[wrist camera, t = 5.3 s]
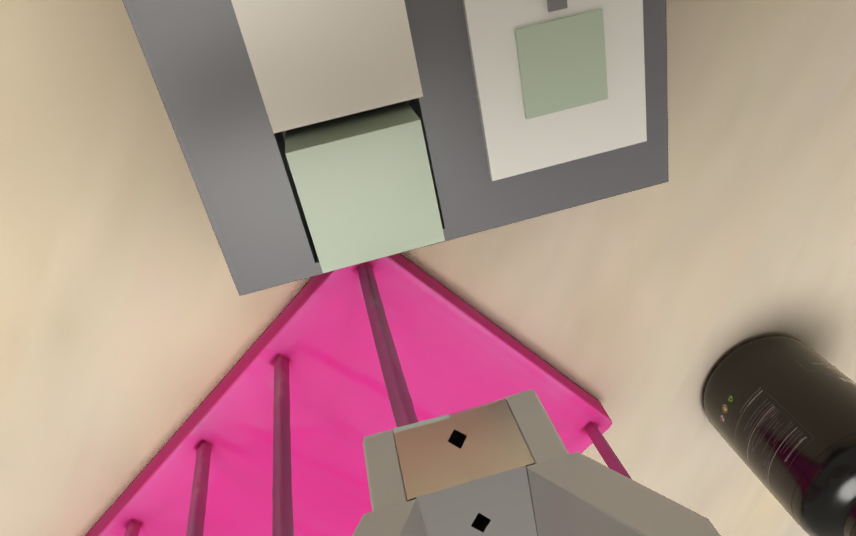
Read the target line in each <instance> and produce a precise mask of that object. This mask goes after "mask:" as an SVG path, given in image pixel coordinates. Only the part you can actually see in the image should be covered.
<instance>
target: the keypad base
mask: <svg viewBox="0 0 856 536" xmlns="http://www.w3.org/2000/svg"><path fill="white" fill-rule="evenodd" d="M404 2H405V7H406V12H407V17H408V22H409V27H410V32H411V37H412V42H413V47H414V52H415V57H416V62H417V67H418V73H419V78H420V83H421V88H422V93H423V97H420V98H415V99H411V100H407V103H408V104H409V105H410V107H411V108H412V109H413V111H414V112H415V113H416V115H417V116H418V117H419V119H420V120H421V125H422V130H423V135H424V140H425V145H426V150H427V155H428V160H429V165H430V169H431V174H432V179H433V184H434V189H435V194H436V199H437V204H438V209H439V214H440V219H441V224H442V228H443V233H444V238H445V241H447V240H451V239H455V238H458V237H462V236H466V235H470V234H473V233H477V232H481V231H485V230H488V229H492V228H496V227H500V226H503V225H507V224H511V223H515V222H518V221H522V220H526V219H530V218H533V217H537V216H541V215H545V214H548V213H552V212H556V211H560V210H563V209H567V208H571V207H575V206H578V205H582V204H586V203H590V202H593V201H597V200H601V199H605V198H608V197H612V196H616V195H620V194H623V193H627V192H631V191H635V190H638V189H642V188H646V187H650V186H653V185H657V184H661V183H665V182H668V112H667V35H666V0H404ZM123 3H124V5H125V8H126V10H127V13H128V15H129V18H130V20H131V23H132V25H133V28H134V31H135V33H136V36H137V38H138V41H139V43H140V46H141V48H142V51H143V53H144V56H145V58H146V61H147V63H148V66H149V68H150V71H151V73H152V76H153V78H154V81H155V84H156V86H157V89H158V91H159V94H160V96H161V99H162V101H163V104H164V106H165V109H166V111H167V114H168V116H169V119H170V121H171V124H172V126H173V129H174V131H175V134H176V137H177V139H178V142H179V144H180V147H181V149H182V152H183V154H184V157H185V159H186V162H187V164H188V167H189V169H190V172H191V174H192V177H193V179H194V182H195V185H196V187H197V190H198V192H199V195H200V197H201V200H202V202H203V205H204V207H205V210H206V212H207V215H208V217H209V220H210V222H211V225H212V227H213V230H214V232H215V235H216V238H217V240H218V243H219V245H220V248H221V250H222V253H223V255H224V258H225V260H226V263H227V265H228V268H229V270H230V273H231V275H232V278H233V280H234V283H235V285H236V288H237V291H238V293H239V296H241V295H245V294H248V293H252V292H256V291H260V290H263V289H267V288H271V287H275V286H278V285H282V284H286V283H290V282H293V281H297V280H301V279H305V278H308V277H312V276H316V275H320V274H323V272H322V268H321V265H320V262H319V259H318V256H317V253H316V249H315V246H314V243H313V240H312V237H311V234H310V230H309V227H308V224H307V221H306V218H305V215H304V211H303V208H302V205H301V202H300V199H299V196H298V192H297V189H296V186H295V183H294V180H293V177H292V173H291V170H290V167H289V164H288V161H287V158H286V154H285V131H282V132H278V133H273V130H272V127H271V124H270V121H269V118H268V114H267V111H266V108H265V105H264V102H263V99H262V96H261V93H260V89H259V86H258V83H257V80H256V77H255V74H254V71H253V68H252V64H251V61H250V58H249V55H248V52H247V49H246V46H245V43H244V39H243V36H242V33H241V30H240V27H239V24H238V21H237V18H236V14H235V11H234V8H233V5H232V2H231V0H123ZM403 102H404V101H403ZM399 103H400V102H399ZM395 104H396V103H395ZM391 105H392V104H391ZM387 106H388V105H387ZM383 107H384V106H383ZM379 108H380V107H379ZM375 109H376V108H375ZM371 110H372V109H371ZM330 120H331V119H330ZM326 121H327V120H326ZM322 122H323V121H322ZM318 123H319V122H318ZM314 124H315V123H314ZM310 125H311V124H310ZM306 126H307V125H306ZM302 127H303V126H302ZM298 128H299V127H298ZM294 129H295V128H294ZM290 130H291V129H290ZM286 131H287V130H286ZM442 242H443V241H442ZM439 243H440V242H439ZM435 244H436V243H435ZM431 245H432V244H431ZM427 246H428V245H427ZM424 247H425V246H424ZM420 248H421V247H420ZM416 249H417V248H416ZM412 250H413V249H412ZM409 251H410V250H409ZM405 252H406V251H405ZM401 253H402V252H401ZM397 254H398V253H397ZM394 255H395V254H394ZM390 256H391V255H390ZM386 257H387V256H386ZM382 258H383V257H382ZM379 259H380V258H379ZM375 260H376V259H375ZM371 261H372V260H371ZM367 262H368V261H367ZM364 263H365V262H364ZM360 264H361V263H360ZM356 265H357V264H356ZM352 266H353V265H352ZM349 267H350V266H349ZM345 268H346V267H345ZM341 269H342V268H341ZM337 270H338V269H337ZM334 271H335V270H334ZM330 272H331V271H330ZM326 273H327V272H326Z"/></svg>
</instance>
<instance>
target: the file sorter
mask: <svg viewBox="0 0 856 536" xmlns="http://www.w3.org/2000/svg"><path fill="white" fill-rule="evenodd" d="M530 389H532V390H533V391H535V392H536V394H537V396H538V398H539V399H540V401H541V403H542V405H543V407H544V409H545V411H546V412H547V414H548V416H549V418H550V420H551V422H552V423H553V425H554V427H555V429H556V431H557V433H558V434H559V436H560V438H561V440H562V442H563V444H564V445H565V447H566V449H567V451H568V453H569V454H571V453H575V452H579V453H582V452H583V451H584V450H585V449H586V448H588V447H589V446H590V445H591V444H592V443H593V444H594V445H595V447H596V448H597V450H598V451H599V453H600V455H601V456H602V458H603V459H604V461H605V463H606V464H607V466H608V467H609V468H610V469H612V470H614V471H616V472H618V473H620V474H622V475H624V476H626V477H628V478H630V479H631V477H630V476H629V474H628V473H627V471H626V470H625V468H624V467H623V465H622V464H621V462H620V461H619V459H618V458H617V456H616V455H615V453H614V452H613V450H612V449H611V447H610V446H609V444H608V443H607V441H606V440H605V438H604V437H603V435H602V434H603V433H604V432H605V431H606V430H607V429H608V428H609V427H610V426H611V424H612V421H611V419H610V418H609V416H608V414H607V413H606V411H605V410H604V408H603V406H602V405H601V403H600V402H599V401H597V400H596V399H595V398H593V397H592V396H591V395H589V394H588V393H587V392H585V391H584V390H583V389H581V388H580V387H578V386H577V385H576V384H574V383H573V382H572V381H570V380H569V379H568V378H566V377H565V376H564V375H562V374H561V373H560V372H558V371H557V370H556V369H554V368H553V367H552V366H550V365H549V364H548V363H546V362H545V361H543V360H542V359H541V358H539V357H538V356H537V355H535V354H534V353H533V352H531V351H530V350H529V349H527V348H526V347H525V346H523V345H522V344H521V343H519V342H518V341H517V340H515V339H514V338H513V337H511V336H510V335H508V334H507V333H506V332H504V331H503V330H502V329H500V328H499V327H498V326H496V325H495V324H494V323H492V322H491V321H490V320H488V319H487V318H486V317H484V316H483V315H482V314H480V313H479V312H478V311H476V310H475V309H474V308H472V307H471V306H470V305H468V304H467V303H466V302H464V301H463V300H462V299H460V298H459V297H458V296H456V295H455V294H454V293H452V292H451V291H450V290H448V289H447V288H446V287H444V286H443V285H442V284H440V283H439V282H437V281H436V280H435V279H433V278H432V277H431V276H429V275H428V274H427V273H425V272H424V271H423V270H421V269H420V268H419V267H417V266H416V265H415V264H413V263H412V262H411V261H409V260H408V259H406V258H405V257H404V256H402V255H401V254H400V253H398V254H395V255H391V256H387V257H383V258H380V259H376V260H372V261H368V262H365V263H361V264H357V265H353V266H350V267H346V268H342V269H338V270H335V271H331V272H327V273H323V274H320V275H316V276H314V277H313V278H312V279H311V280H310V281H309V282H308V283H307V284H306V286H305V287H304V288H303V289H302V290H301V291H300V292H299V293H298V295H297V296H296V297H295V298H294V299H293V300H292V301H291V302H290V304H289V305H288V306H287V307H286V308H285V309H284V310H283V311H282V313H281V314H280V315H279V316H278V317H277V318H276V319H275V320H274V322H273V323H272V324H271V325H270V326H269V327H268V328H267V330H266V331H265V332H264V333H263V334H262V335H261V336H260V338H259V339H258V340H257V341H256V342H255V343H254V344H253V345H252V347H251V348H250V349H249V350H248V351H247V352H246V353H245V355H244V356H243V357H242V358H241V359H240V360H239V361H238V363H237V364H236V365H235V366H234V367H233V368H232V370H231V371H230V372H229V373H228V374H227V375H226V376H225V378H224V379H223V380H222V381H221V382H220V383H219V384H218V385H217V387H216V388H215V389H214V390H213V391H212V392H211V393H210V395H209V396H208V397H207V398H206V399H205V400H204V401H203V402H202V404H201V405H200V406H199V407H198V408H197V409H196V410H195V411H194V413H193V414H192V415H191V416H190V417H189V418H188V419H187V421H186V422H185V423H184V424H183V425H182V426H181V427H180V429H179V430H178V431H177V432H176V433H175V434H174V435H173V437H172V438H171V439H170V440H169V441H168V442H167V443H166V445H165V446H164V447H163V448H162V449H161V450H160V451H159V453H158V454H157V455H156V456H155V457H154V458H153V459H152V461H151V462H150V463H149V464H148V465H147V466H146V467H145V469H144V470H143V471H142V472H141V473H140V474H139V475H138V476H137V478H136V479H135V480H134V481H133V482H132V483H131V484H130V486H129V487H128V488H127V489H126V490H125V491H124V492H123V494H122V495H121V496H120V497H119V498H118V499H117V500H116V502H115V503H114V504H113V505H112V506H111V507H110V508H109V510H108V511H107V512H106V513H105V514H104V515H103V516H102V517H101V519H100V520H99V521H98V522H97V523H96V524H95V525H94V527H93V528H92V529H91V530H90V531H89V532H88V533H87V535H86V536H352V535H353V533H354V531H355V529H356V527H357V526H358V524H359V522H360V520H361V518H362V516H363V515H364V514H366V513H370V512H372V506H371V499H370V492H369V484H368V477H367V470H366V463H365V456H364V448H363V438H364V437H365V436H368V435H372V434H376V433H380V432H384V431H388V430H393V428H397V427H401V426H405V425H409V424H413V423H416V422H420V421H424V420H428V419H432V418H436V417H440V416H444V415H447V414H451V413H454V412H458V411H461V410H465V409H468V408H471V407H475V406H478V405H482V404H485V403H489V402H492V401H495V400H499V399H502V398H503V399H504V397H507V396H511V395H514V394H517V393H520V392H524V391H527V390H530Z"/></svg>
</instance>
